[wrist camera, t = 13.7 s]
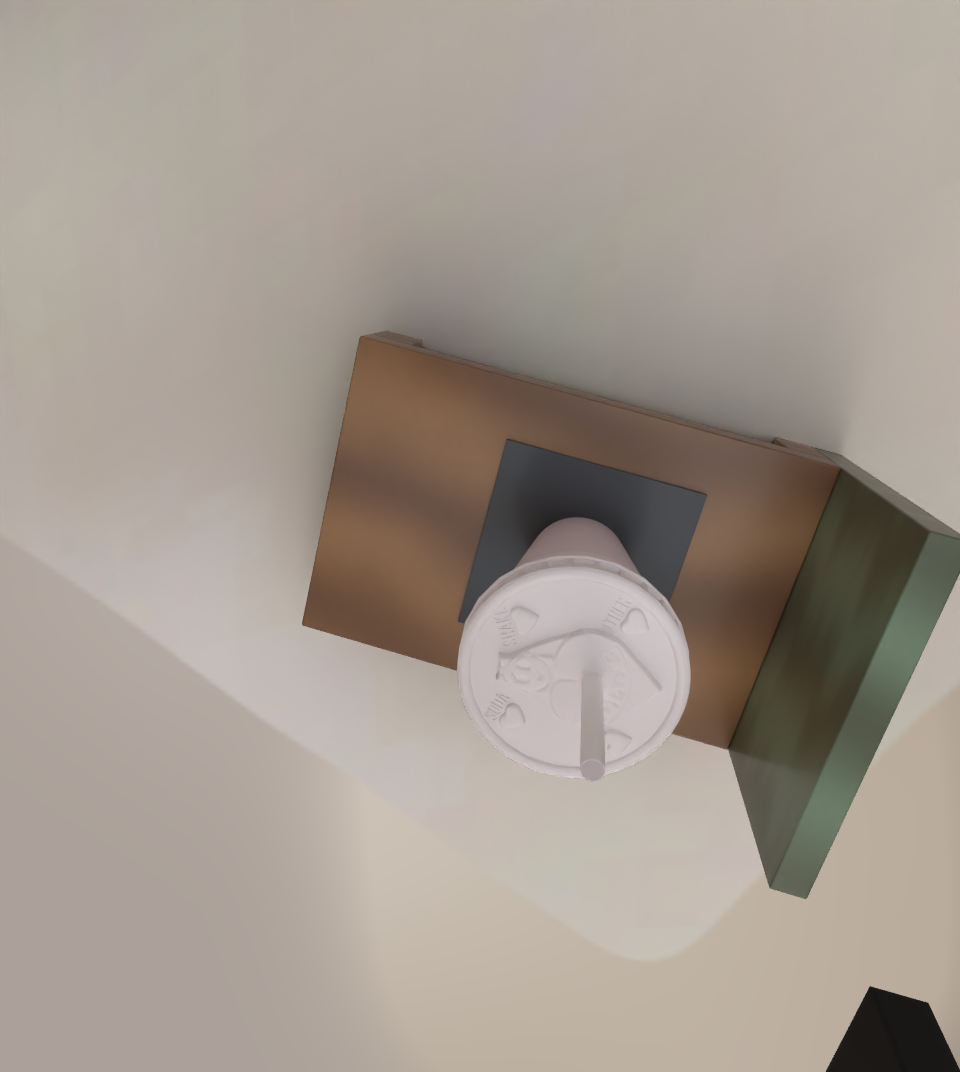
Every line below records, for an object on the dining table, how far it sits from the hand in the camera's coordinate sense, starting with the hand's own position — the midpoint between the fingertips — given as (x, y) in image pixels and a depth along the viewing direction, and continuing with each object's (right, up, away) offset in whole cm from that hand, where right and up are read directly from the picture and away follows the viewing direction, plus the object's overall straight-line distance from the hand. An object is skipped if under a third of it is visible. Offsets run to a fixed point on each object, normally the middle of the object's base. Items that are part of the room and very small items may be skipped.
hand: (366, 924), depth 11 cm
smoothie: (+5, +4, +20) cm, 21 cm away
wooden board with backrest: (+5, +6, +24) cm, 25 cm away
